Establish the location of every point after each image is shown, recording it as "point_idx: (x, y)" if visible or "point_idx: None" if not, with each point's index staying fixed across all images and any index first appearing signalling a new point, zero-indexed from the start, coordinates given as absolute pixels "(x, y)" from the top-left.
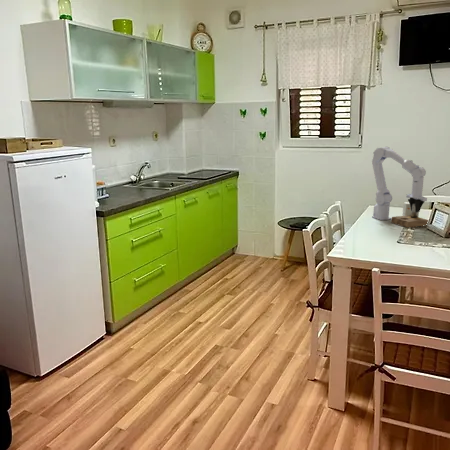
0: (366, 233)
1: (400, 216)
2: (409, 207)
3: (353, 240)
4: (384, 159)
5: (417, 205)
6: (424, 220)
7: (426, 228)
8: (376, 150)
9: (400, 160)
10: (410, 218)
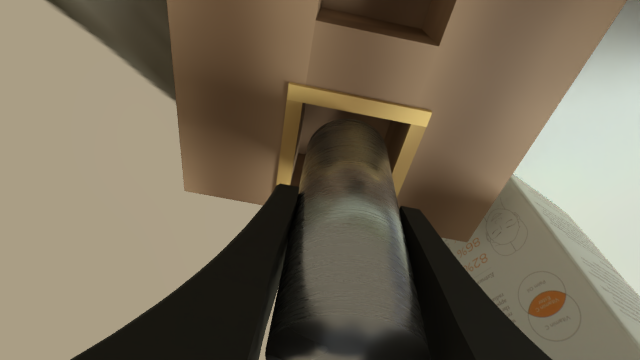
0: None
1: (555, 69)
2: (545, 326)
3: None
4: None
5: (187, 287)
6: (181, 143)
7: (105, 42)
8: None
9: None
10: (354, 80)
